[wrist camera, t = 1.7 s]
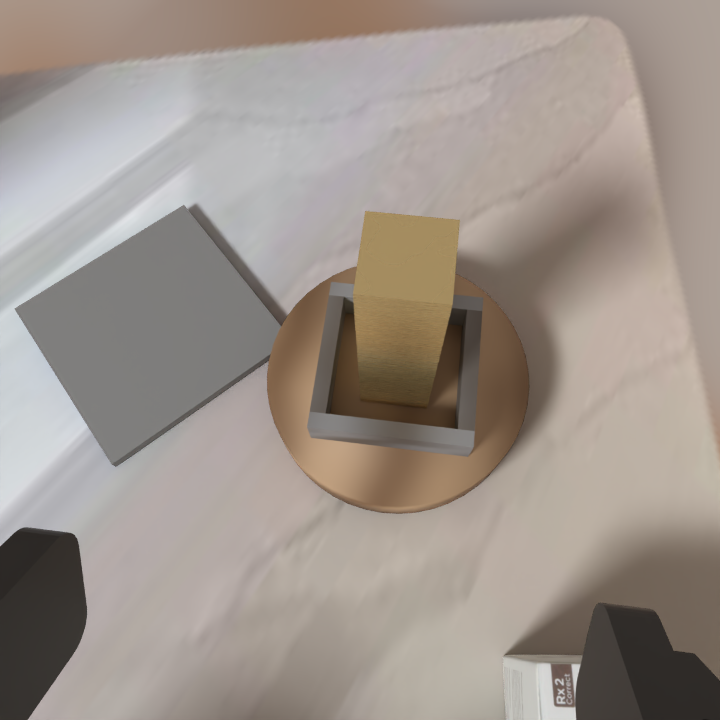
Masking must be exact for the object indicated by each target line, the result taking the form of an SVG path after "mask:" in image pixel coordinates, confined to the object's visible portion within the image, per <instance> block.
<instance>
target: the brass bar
mask: <svg viewBox="0 0 720 720" xmlns="http://www.w3.org/2000/svg"><path fill="white" fill-rule="evenodd" d="M459 223H460V220H454V219H443V218H433V217H422V216H412V215H401V214H391V213H380V212H369V211H365V217H364V224H363V230H362V237H361V244H360V250H359V257H358V264H357V270H356V277H355V283H354V290H353V303H354V316H355V330H356V344H357V357H358V371H359V384H360V398H361V401H366V402H374V403H383V404H391V405H400V406H409V407H417V408H426V409H427V406H428V402H429V398H430V394H431V390H432V386H433V382H434V378H435V374H436V370H437V366H438V362H439V358H440V354H441V350H442V346H443V342H444V337H445V333H446V329H447V325H448V321H449V317H450V313H451V309H452V305H453V294H454V282H455V270H456V259H457V247H458V235H459Z"/></svg>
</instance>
